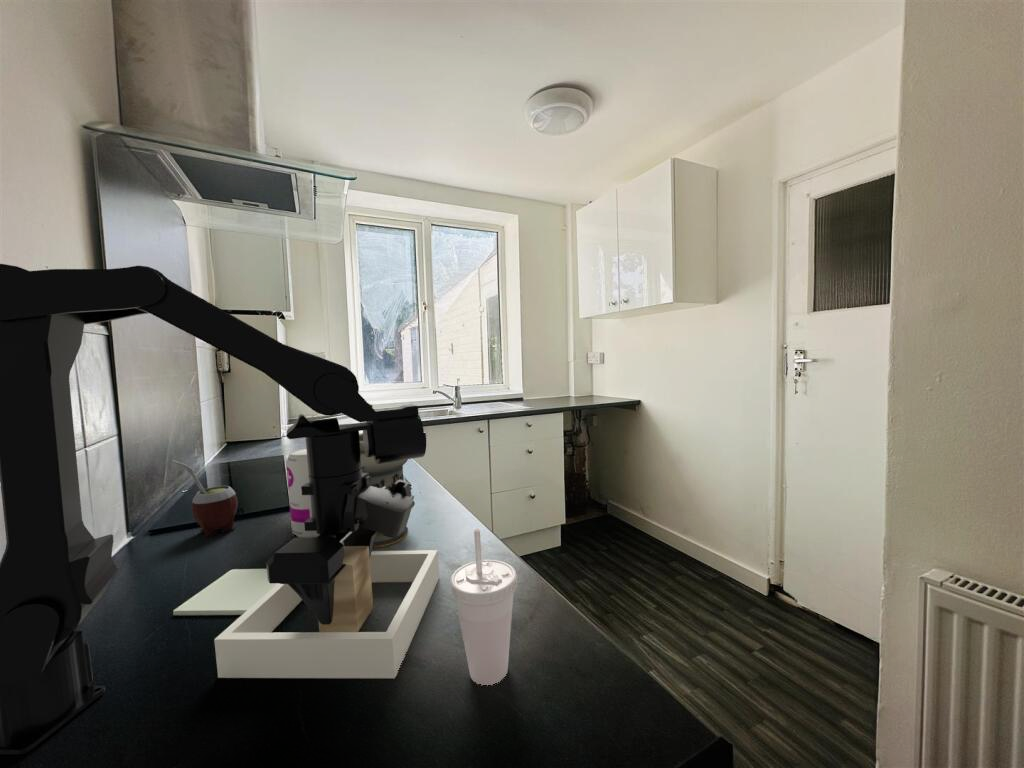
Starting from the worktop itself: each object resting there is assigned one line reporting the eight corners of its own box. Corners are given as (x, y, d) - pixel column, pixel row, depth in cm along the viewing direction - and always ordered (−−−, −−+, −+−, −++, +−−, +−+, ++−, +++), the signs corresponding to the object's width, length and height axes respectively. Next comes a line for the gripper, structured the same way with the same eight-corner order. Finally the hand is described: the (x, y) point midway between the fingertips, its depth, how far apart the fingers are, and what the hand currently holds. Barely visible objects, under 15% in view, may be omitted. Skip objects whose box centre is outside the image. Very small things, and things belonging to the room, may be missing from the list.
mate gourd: (248, 523, 82) (241, 448, 81) (219, 541, 74) (210, 458, 73) (211, 524, 82) (203, 449, 81) (178, 542, 74) (169, 460, 73)
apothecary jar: (331, 554, 66) (322, 444, 65) (356, 524, 78) (349, 430, 77) (406, 549, 67) (399, 440, 66) (420, 520, 79) (414, 427, 78)
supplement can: (287, 543, 71) (280, 458, 70) (298, 524, 79) (291, 448, 78) (337, 535, 74) (331, 452, 73) (343, 518, 82) (337, 443, 80)
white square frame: (395, 678, 40) (392, 638, 40) (218, 677, 41) (214, 639, 41) (439, 577, 58) (437, 550, 58) (315, 579, 59) (312, 552, 59)
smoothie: (487, 639, 45) (480, 513, 44) (534, 665, 41) (528, 527, 40) (441, 676, 40) (433, 535, 39) (491, 710, 36) (482, 554, 35)
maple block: (357, 632, 47) (352, 564, 46) (319, 632, 47) (313, 565, 47) (373, 608, 52) (368, 546, 51) (338, 608, 52) (333, 546, 51)
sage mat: (249, 614, 51) (249, 610, 51) (173, 615, 52) (173, 610, 52) (296, 572, 61) (296, 568, 61) (232, 573, 62) (231, 569, 62)
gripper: (371, 496, 38) (382, 656, 39) (425, 450, 57) (432, 559, 58) (256, 499, 39) (270, 656, 40) (346, 452, 58) (354, 560, 59)
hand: (345, 599), depth 49 cm, fingers open, 9 cm apart
